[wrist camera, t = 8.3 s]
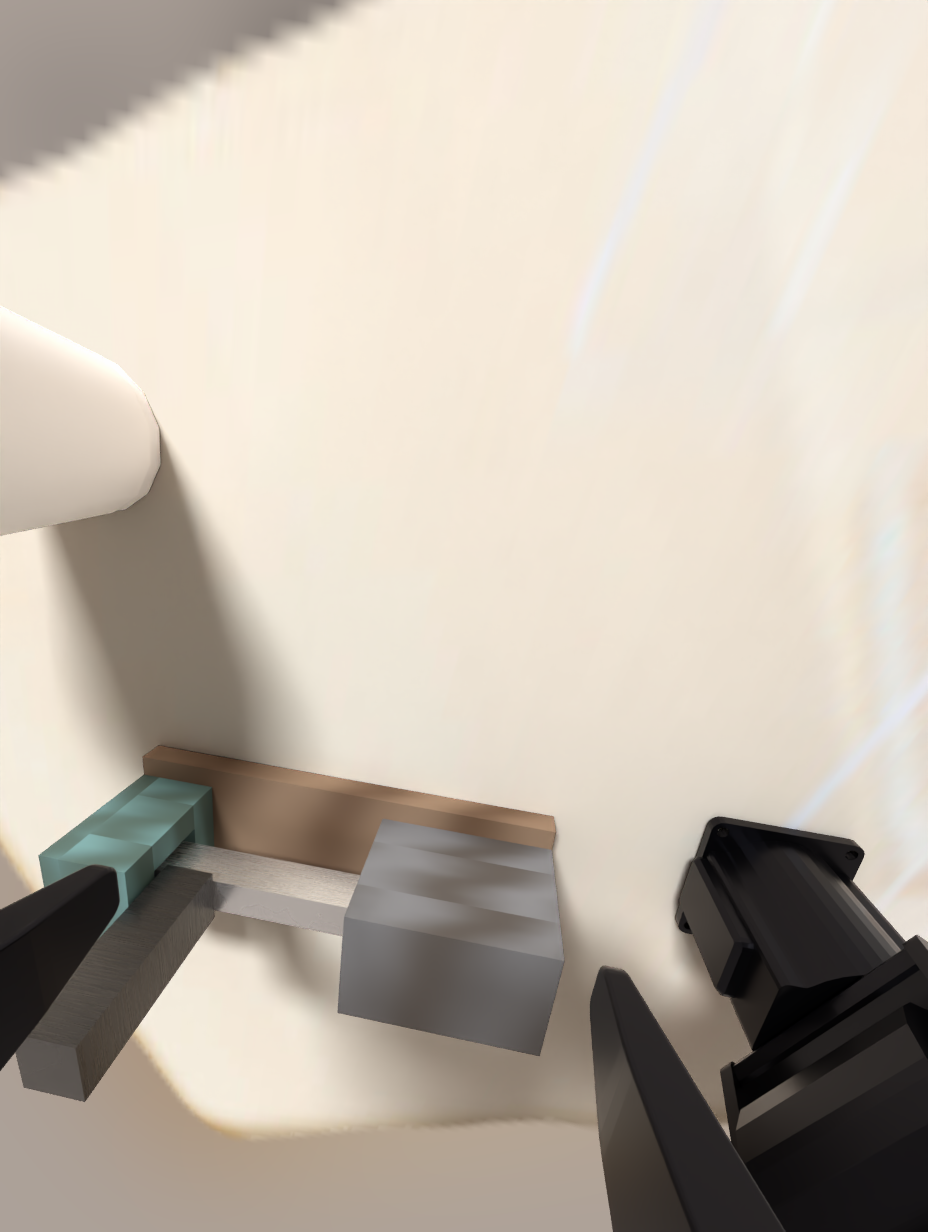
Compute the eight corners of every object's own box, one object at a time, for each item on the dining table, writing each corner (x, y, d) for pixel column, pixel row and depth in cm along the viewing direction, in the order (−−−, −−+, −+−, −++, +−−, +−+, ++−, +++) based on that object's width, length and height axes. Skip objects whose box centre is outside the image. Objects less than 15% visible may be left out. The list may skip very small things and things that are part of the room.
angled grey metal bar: (410, 877, 19) (349, 1111, 12) (405, 919, 20) (345, 1163, 13) (138, 825, 20) (-74, 1014, 13) (142, 866, 21) (-57, 1068, 13)
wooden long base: (553, 816, 21) (570, 939, 15) (528, 927, 23) (535, 1073, 17) (158, 745, 22) (34, 834, 16) (167, 856, 24) (59, 969, 18)
